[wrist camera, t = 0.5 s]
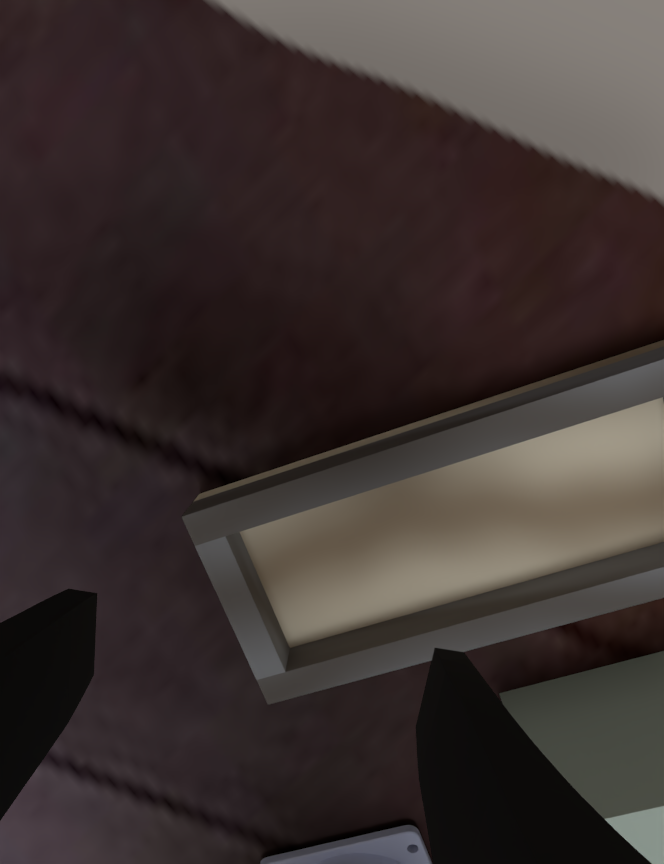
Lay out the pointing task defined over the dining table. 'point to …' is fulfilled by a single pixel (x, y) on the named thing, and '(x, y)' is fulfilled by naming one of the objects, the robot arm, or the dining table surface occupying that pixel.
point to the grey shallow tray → (446, 530)
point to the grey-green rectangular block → (606, 741)
